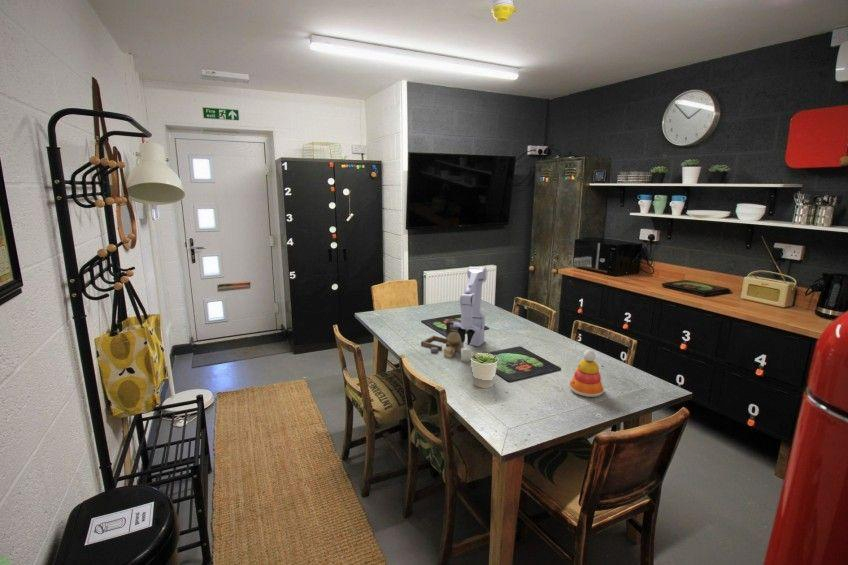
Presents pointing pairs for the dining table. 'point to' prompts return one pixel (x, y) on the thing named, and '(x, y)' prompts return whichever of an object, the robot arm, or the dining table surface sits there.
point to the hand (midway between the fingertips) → (466, 342)
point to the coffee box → (453, 335)
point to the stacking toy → (587, 377)
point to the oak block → (449, 351)
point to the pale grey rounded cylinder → (465, 354)
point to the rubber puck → (434, 350)
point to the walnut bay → (427, 344)
